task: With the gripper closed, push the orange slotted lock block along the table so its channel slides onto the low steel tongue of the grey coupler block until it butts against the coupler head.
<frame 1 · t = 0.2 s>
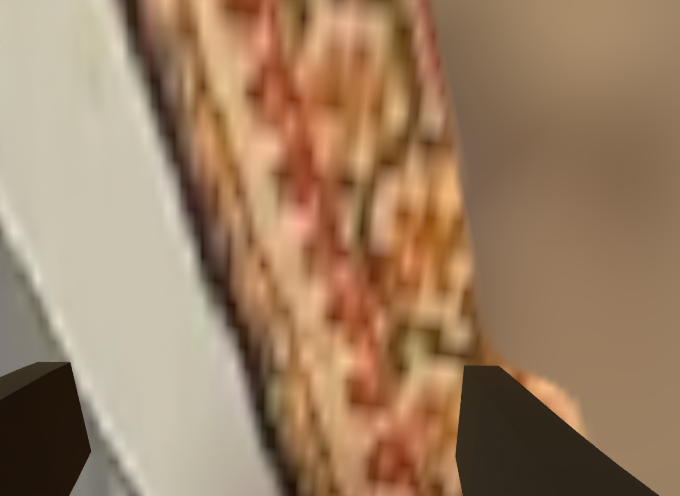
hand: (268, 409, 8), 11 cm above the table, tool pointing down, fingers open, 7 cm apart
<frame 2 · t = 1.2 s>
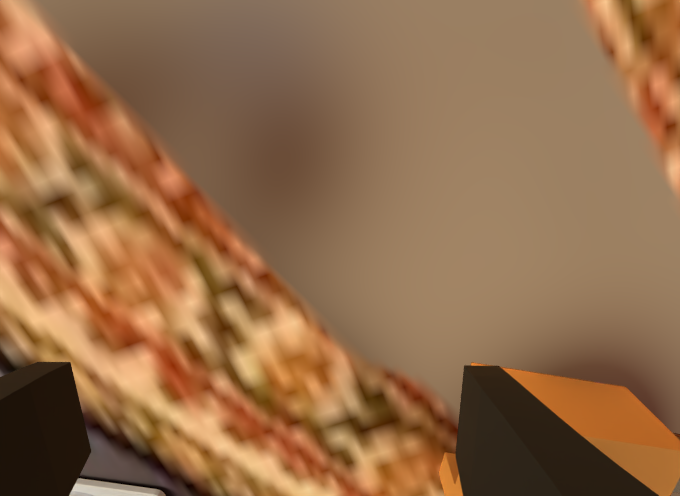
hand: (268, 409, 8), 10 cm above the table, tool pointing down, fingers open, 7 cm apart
lock block: (528, 430, 21), on the table
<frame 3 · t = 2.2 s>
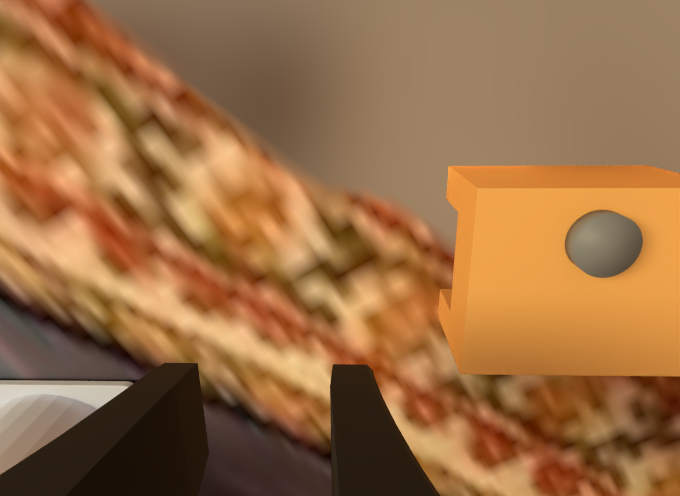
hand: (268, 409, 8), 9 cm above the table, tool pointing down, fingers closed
lock block: (535, 245, 17), on the table
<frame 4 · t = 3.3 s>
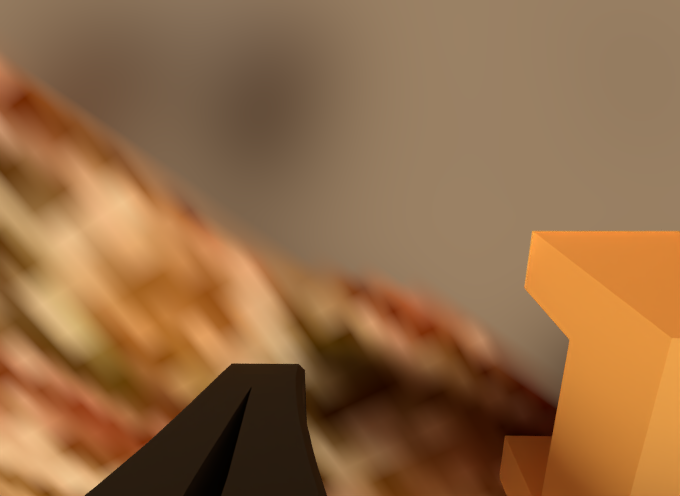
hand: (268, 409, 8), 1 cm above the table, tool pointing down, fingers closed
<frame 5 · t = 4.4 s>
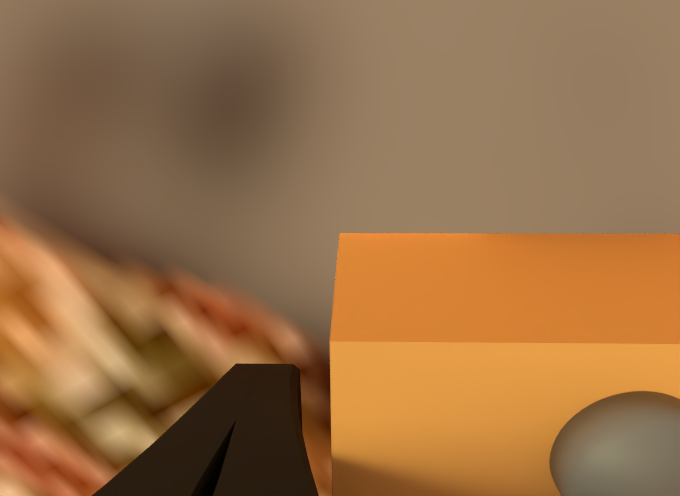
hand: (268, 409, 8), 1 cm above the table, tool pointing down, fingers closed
lock block: (504, 368, 10), on the table, touching gripper
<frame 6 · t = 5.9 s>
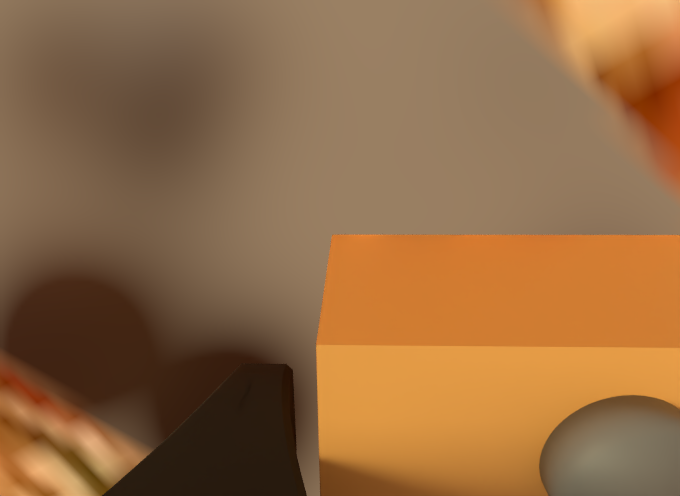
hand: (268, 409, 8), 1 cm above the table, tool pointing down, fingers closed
lock block: (499, 370, 10), resting in coupler, touching gripper
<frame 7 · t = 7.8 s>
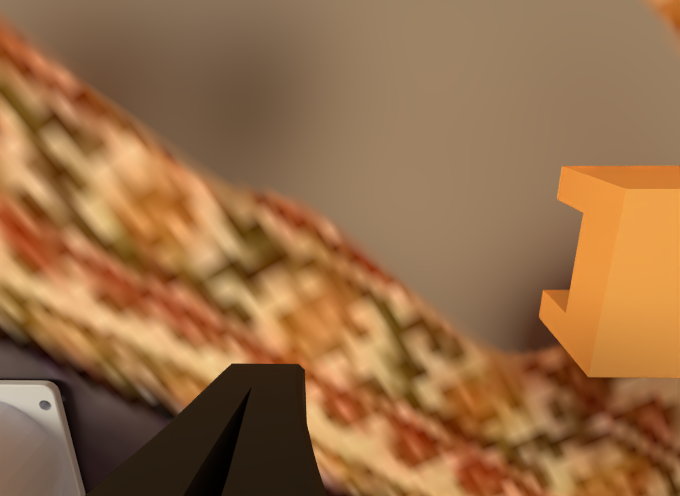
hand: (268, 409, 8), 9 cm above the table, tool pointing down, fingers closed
lock block: (644, 246, 17), resting in coupler
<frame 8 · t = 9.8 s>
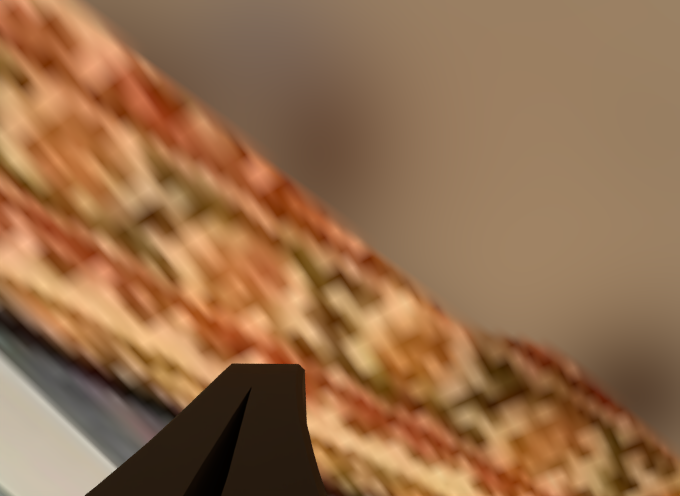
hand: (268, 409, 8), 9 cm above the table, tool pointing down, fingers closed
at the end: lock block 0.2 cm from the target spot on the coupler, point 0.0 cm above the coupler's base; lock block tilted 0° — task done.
